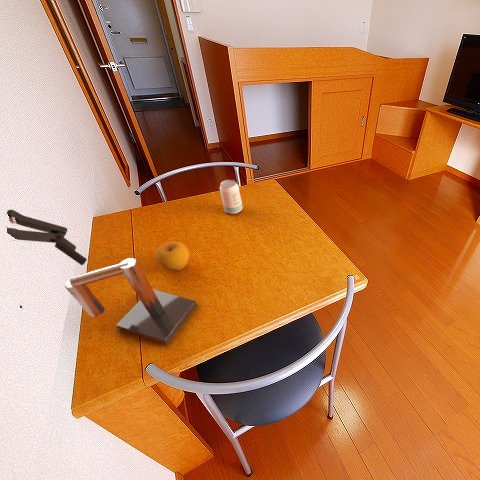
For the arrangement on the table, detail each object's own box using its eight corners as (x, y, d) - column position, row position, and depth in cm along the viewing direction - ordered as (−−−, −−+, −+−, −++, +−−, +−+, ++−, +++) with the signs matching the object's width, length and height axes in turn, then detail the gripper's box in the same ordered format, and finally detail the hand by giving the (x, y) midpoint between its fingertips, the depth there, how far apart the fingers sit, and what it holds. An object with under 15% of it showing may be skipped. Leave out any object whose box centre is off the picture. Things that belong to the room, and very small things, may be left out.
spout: (163, 304, 72) (135, 255, 60) (164, 314, 70) (136, 265, 58) (104, 325, 67) (61, 275, 55) (104, 336, 65) (59, 287, 53)
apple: (155, 274, 82) (143, 252, 76) (174, 254, 89) (164, 233, 83) (182, 280, 81) (172, 258, 75) (199, 259, 88) (191, 238, 82)
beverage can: (229, 204, 112) (223, 177, 104) (245, 206, 111) (241, 180, 103) (221, 214, 107) (215, 186, 99) (238, 216, 106) (232, 189, 98)
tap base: (197, 305, 75) (195, 300, 73) (167, 345, 66) (164, 340, 64) (153, 293, 77) (151, 288, 76) (119, 329, 68) (115, 325, 67)
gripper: (16, 190, 63) (102, 252, 69) (-153, 265, 44) (-14, 339, 51) (18, 172, 58) (109, 240, 65) (-170, 247, 40) (-15, 331, 47)
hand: (55, 284), depth 58 cm, fingers open, 13 cm apart
